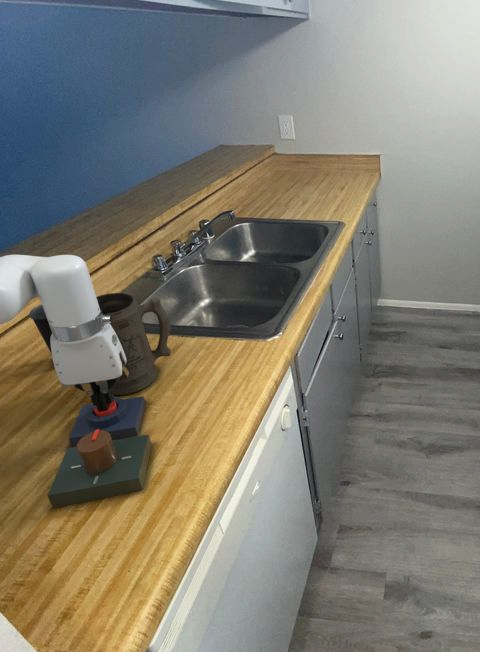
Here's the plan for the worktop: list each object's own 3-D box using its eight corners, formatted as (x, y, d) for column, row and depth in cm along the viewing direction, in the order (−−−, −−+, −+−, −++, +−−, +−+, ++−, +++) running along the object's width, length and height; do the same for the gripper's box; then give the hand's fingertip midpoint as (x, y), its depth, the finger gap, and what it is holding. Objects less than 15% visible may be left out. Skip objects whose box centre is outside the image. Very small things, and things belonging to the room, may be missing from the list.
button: (94, 421, 89) (91, 414, 88) (99, 408, 92) (96, 401, 91) (115, 417, 90) (113, 410, 89) (119, 405, 93) (117, 398, 92)
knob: (113, 470, 79) (105, 447, 77) (81, 476, 78) (71, 453, 75) (120, 449, 83) (113, 426, 81) (89, 454, 82) (81, 431, 79)
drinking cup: (42, 361, 109) (12, 284, 99) (78, 346, 114) (53, 272, 105) (58, 374, 105) (27, 295, 96) (94, 357, 110) (69, 282, 101)
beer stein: (109, 404, 97) (90, 320, 89) (91, 380, 103) (72, 299, 95) (183, 375, 108) (173, 297, 99) (163, 355, 114) (151, 280, 105)
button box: (71, 446, 87) (65, 430, 85) (85, 413, 95) (79, 398, 93) (137, 435, 90) (133, 419, 88) (146, 404, 98) (141, 389, 96)
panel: (53, 508, 76) (46, 494, 74) (72, 460, 84) (66, 447, 83) (142, 490, 79) (138, 477, 78) (152, 446, 88) (148, 433, 86)
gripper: (130, 309, 87) (151, 387, 95) (35, 319, 83) (66, 399, 91) (121, 331, 80) (144, 412, 89) (18, 343, 76) (53, 427, 85)
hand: (105, 405), depth 90 cm, fingers closed
